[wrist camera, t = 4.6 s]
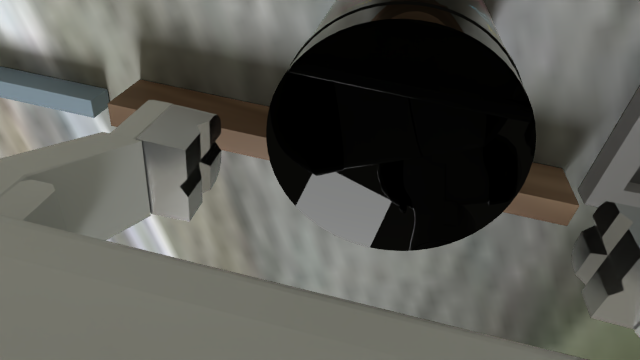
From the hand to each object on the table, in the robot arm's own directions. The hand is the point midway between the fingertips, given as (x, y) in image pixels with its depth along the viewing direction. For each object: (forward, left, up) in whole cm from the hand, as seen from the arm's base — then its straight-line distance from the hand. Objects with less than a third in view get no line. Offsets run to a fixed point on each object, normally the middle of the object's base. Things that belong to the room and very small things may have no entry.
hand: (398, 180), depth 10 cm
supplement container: (0, 0, -12) cm, 12 cm away
